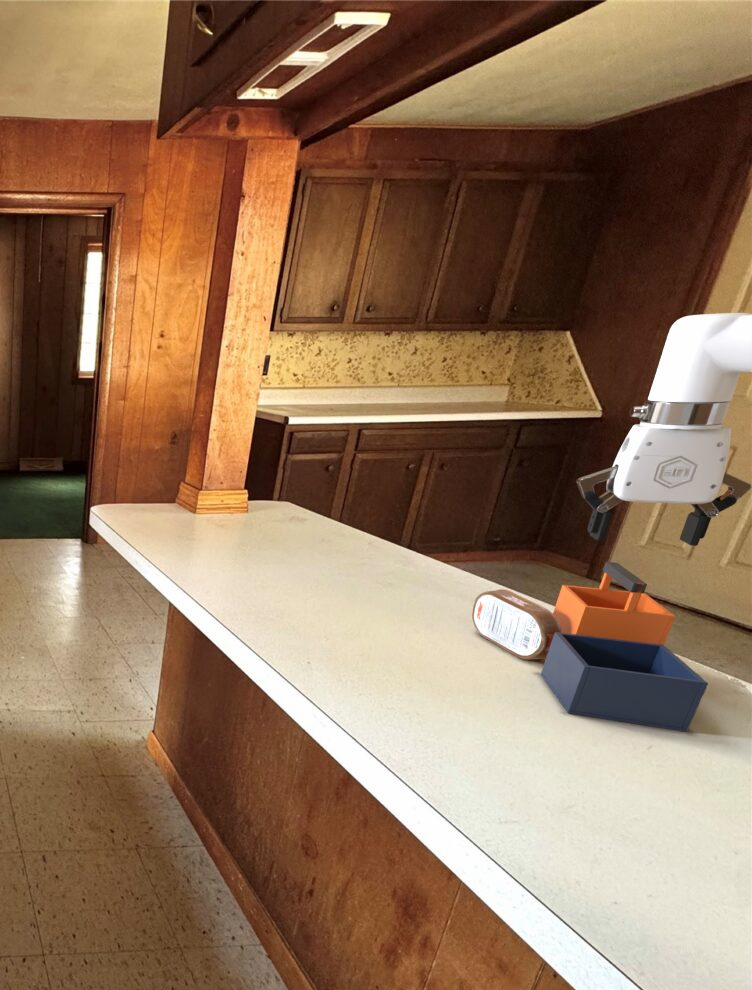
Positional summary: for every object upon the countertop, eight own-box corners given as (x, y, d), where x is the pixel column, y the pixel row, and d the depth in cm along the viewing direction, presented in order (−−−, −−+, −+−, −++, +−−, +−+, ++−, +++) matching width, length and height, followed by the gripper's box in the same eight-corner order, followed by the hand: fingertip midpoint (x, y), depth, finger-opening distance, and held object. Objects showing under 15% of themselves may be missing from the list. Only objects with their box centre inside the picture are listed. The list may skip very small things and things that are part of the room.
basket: (620, 655, 102) (654, 565, 97) (648, 684, 94) (688, 588, 89) (541, 645, 106) (570, 558, 101) (562, 672, 98) (595, 579, 93)
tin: (554, 668, 99) (572, 617, 96) (533, 669, 99) (550, 618, 96) (481, 627, 113) (494, 582, 110) (462, 628, 113) (475, 582, 110)
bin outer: (645, 689, 93) (663, 644, 90) (686, 732, 83) (708, 683, 81) (540, 674, 98) (554, 631, 95) (567, 713, 88) (584, 666, 85)
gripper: (608, 418, 87) (571, 542, 93) (795, 418, 80) (742, 553, 86) (586, 412, 94) (553, 529, 100) (759, 411, 86) (711, 538, 92)
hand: (641, 540), depth 93 cm, fingers open, 9 cm apart
